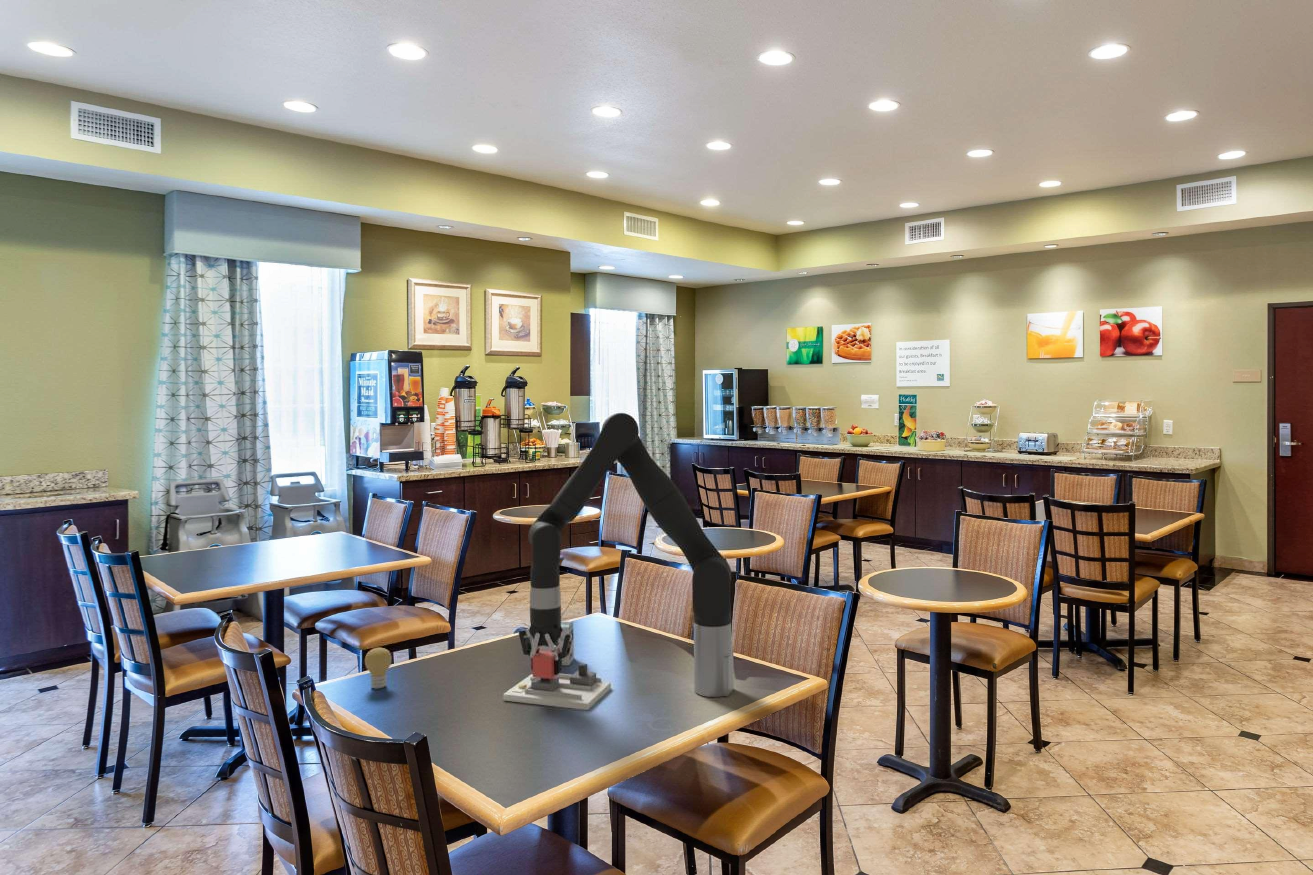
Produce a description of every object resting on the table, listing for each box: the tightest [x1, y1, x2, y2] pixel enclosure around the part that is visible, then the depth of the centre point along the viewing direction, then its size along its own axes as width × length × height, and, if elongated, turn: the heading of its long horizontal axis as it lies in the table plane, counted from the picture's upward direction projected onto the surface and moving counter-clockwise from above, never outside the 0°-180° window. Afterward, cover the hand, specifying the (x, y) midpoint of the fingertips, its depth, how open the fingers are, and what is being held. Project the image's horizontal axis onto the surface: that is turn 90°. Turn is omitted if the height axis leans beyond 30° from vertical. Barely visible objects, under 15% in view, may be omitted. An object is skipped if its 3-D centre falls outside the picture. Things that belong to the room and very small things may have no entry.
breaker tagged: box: [531, 677, 559, 692], centre depth 197 cm, size 5×5×5 cm
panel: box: [502, 662, 612, 711], centre depth 198 cm, size 22×15×7 cm
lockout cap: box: [532, 651, 556, 679], centre depth 196 cm, size 5×5×5 cm
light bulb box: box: [531, 620, 575, 666], centre depth 223 cm, size 11×7×11 cm, turn 84°
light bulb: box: [364, 647, 393, 690], centre depth 204 cm, size 6×6×10 cm
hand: (546, 672), depth 196 cm, fingers closed on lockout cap, 5 cm apart
